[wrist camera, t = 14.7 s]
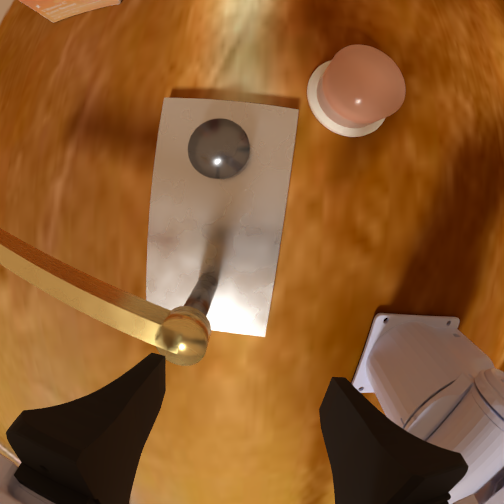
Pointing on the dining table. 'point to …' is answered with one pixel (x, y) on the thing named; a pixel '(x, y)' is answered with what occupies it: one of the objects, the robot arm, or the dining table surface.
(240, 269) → the plate
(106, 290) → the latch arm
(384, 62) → the cap
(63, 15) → the small box
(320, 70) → the coaster
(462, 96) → the dining table surface
